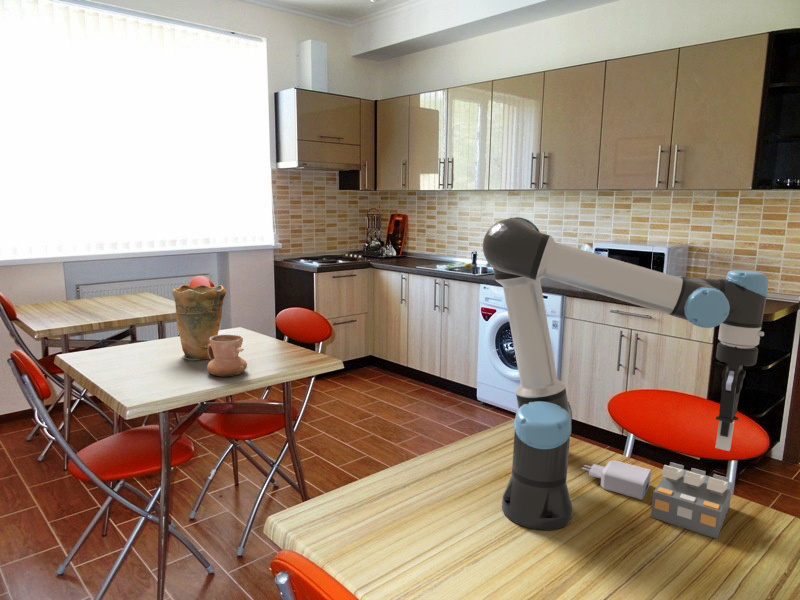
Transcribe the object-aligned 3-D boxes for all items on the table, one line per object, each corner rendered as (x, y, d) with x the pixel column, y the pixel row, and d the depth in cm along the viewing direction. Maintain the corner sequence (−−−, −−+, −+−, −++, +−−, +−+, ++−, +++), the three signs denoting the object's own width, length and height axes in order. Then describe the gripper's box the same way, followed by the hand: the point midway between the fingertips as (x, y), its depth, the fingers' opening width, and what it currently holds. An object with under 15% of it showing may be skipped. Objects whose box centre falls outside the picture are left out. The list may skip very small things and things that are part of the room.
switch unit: (716, 539, 119) (720, 509, 118) (650, 517, 126) (653, 488, 125) (729, 507, 132) (733, 479, 130) (668, 489, 139) (671, 462, 138)
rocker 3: (722, 493, 121) (724, 481, 121) (706, 488, 123) (708, 477, 123) (727, 488, 127) (728, 477, 127) (711, 484, 129) (713, 473, 129)
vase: (237, 356, 243) (235, 286, 238) (191, 366, 228) (188, 291, 223) (212, 347, 257) (209, 280, 252) (167, 355, 243) (164, 284, 237)
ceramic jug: (257, 372, 222) (256, 336, 220) (228, 382, 210) (226, 343, 207) (225, 365, 231) (224, 331, 229) (195, 374, 219) (193, 337, 217)
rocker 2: (698, 486, 124) (700, 475, 124) (683, 482, 125) (685, 471, 125) (704, 482, 130) (706, 471, 130) (689, 478, 132) (691, 467, 132)
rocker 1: (676, 480, 126) (677, 469, 126) (661, 475, 128) (663, 465, 128) (682, 476, 133) (684, 465, 133) (668, 472, 134) (670, 461, 135)
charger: (588, 469, 149) (650, 486, 141) (577, 483, 142) (642, 502, 133) (589, 451, 148) (651, 468, 140) (578, 465, 141) (644, 483, 133)
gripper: (754, 353, 115) (738, 463, 119) (762, 341, 125) (746, 443, 129) (712, 346, 119) (698, 453, 124) (723, 335, 130) (709, 434, 134)
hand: (722, 448), depth 127 cm, fingers closed
